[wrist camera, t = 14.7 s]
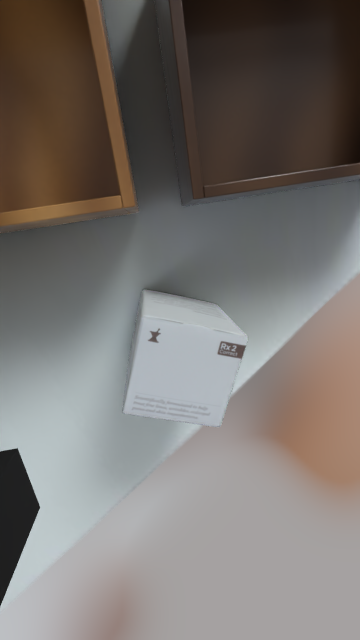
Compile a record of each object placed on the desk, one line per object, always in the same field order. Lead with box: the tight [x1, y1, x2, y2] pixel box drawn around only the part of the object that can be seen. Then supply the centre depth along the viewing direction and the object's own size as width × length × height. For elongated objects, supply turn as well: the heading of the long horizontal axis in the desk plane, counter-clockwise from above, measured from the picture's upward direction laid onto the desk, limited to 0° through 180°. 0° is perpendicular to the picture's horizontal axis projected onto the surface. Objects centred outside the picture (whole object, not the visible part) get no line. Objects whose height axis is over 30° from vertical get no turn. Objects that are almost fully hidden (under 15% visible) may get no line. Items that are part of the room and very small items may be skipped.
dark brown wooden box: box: [154, 0, 360, 207], centre depth 17 cm, size 14×12×6 cm
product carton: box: [122, 289, 248, 427], centre depth 20 cm, size 6×6×7 cm
